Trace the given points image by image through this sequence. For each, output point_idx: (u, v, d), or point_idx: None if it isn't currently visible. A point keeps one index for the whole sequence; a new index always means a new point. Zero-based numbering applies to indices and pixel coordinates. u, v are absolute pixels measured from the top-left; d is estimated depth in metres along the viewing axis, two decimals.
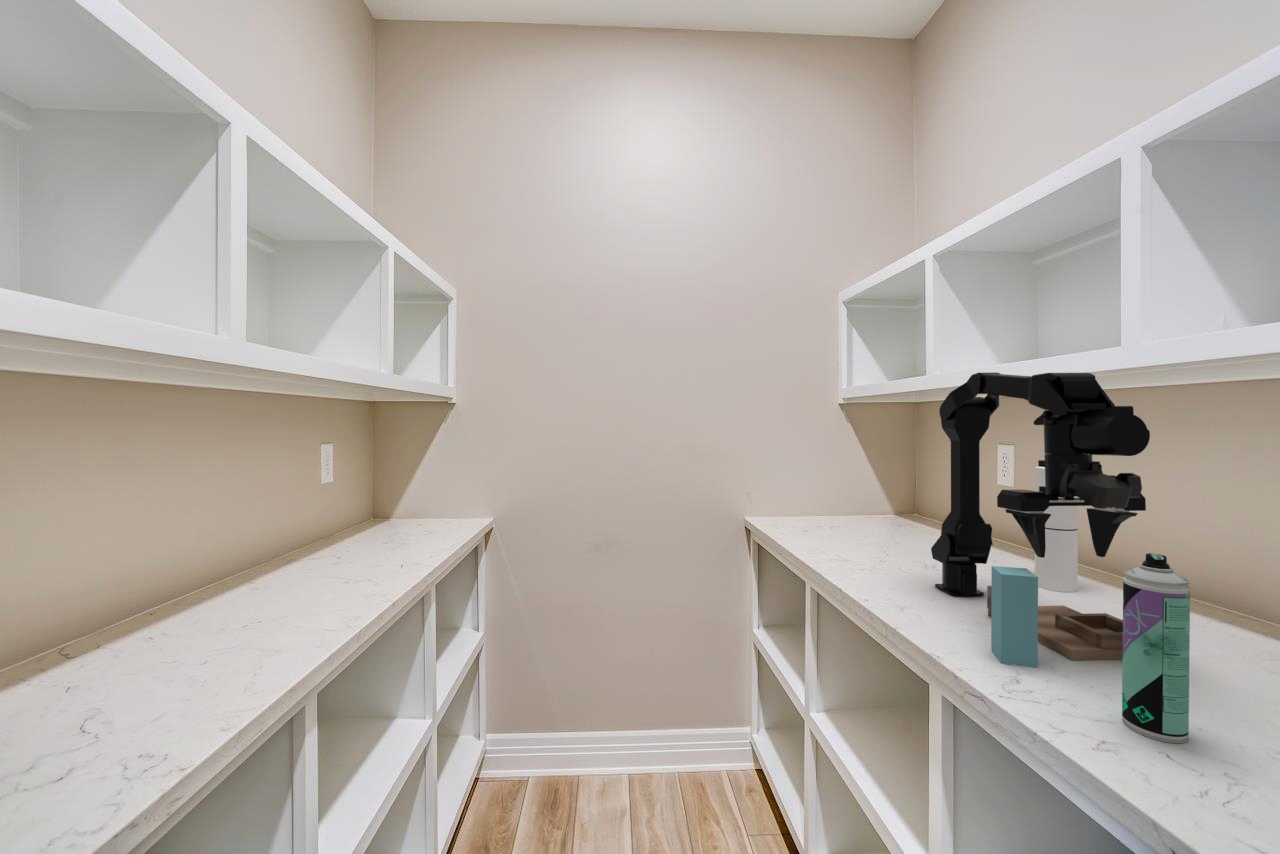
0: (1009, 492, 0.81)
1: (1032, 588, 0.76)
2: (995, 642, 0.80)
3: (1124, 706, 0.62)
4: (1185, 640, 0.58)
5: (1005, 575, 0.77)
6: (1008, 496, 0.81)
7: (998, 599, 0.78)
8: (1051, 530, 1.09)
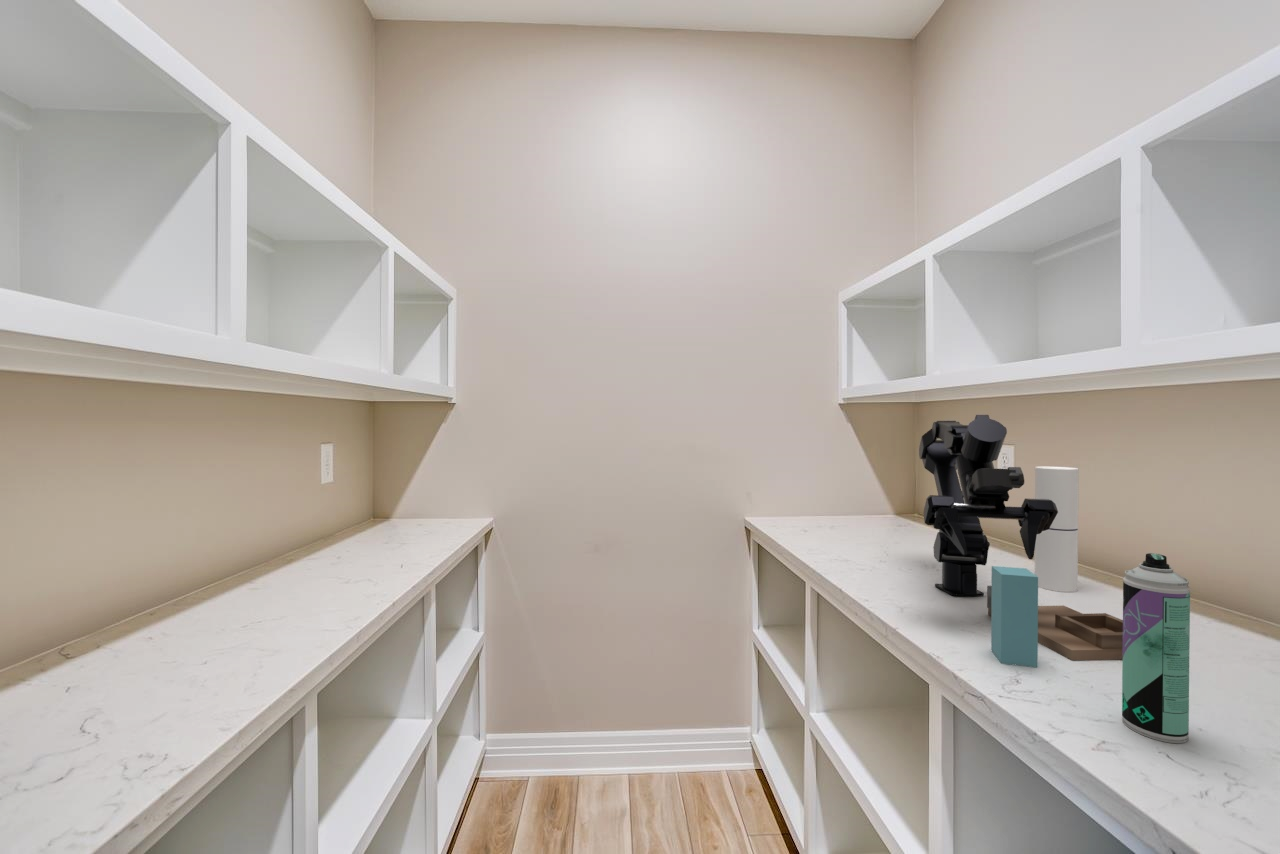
0: None
1: (1032, 588, 0.76)
2: (995, 642, 0.80)
3: (1124, 706, 0.62)
4: (1185, 640, 0.58)
5: (1005, 575, 0.77)
6: (925, 505, 0.95)
7: (998, 599, 0.78)
8: (1051, 530, 1.09)
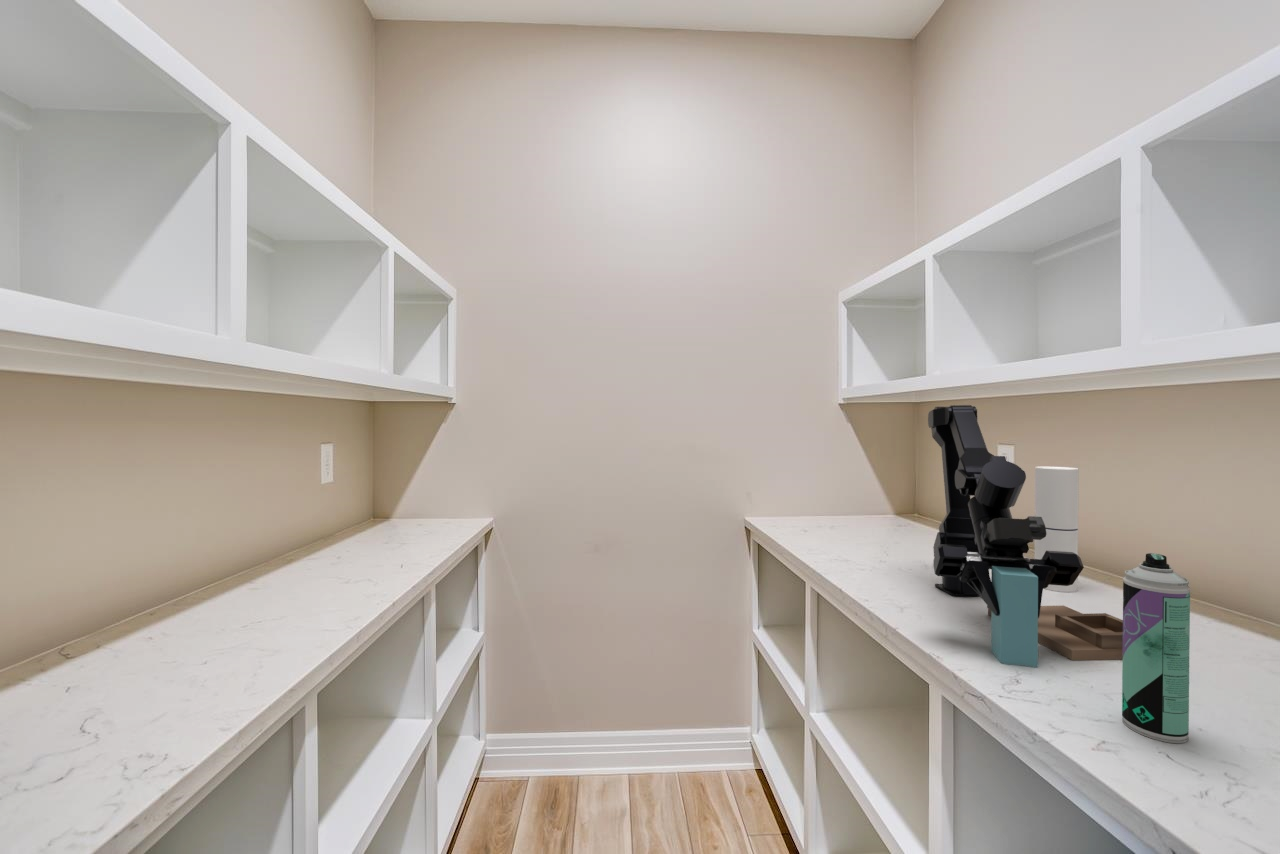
0: None
1: (1032, 588, 0.76)
2: (995, 642, 0.80)
3: (1124, 706, 0.62)
4: (1185, 640, 0.58)
5: (1005, 575, 0.77)
6: (935, 555, 0.86)
7: (998, 599, 0.78)
8: (1051, 530, 1.09)
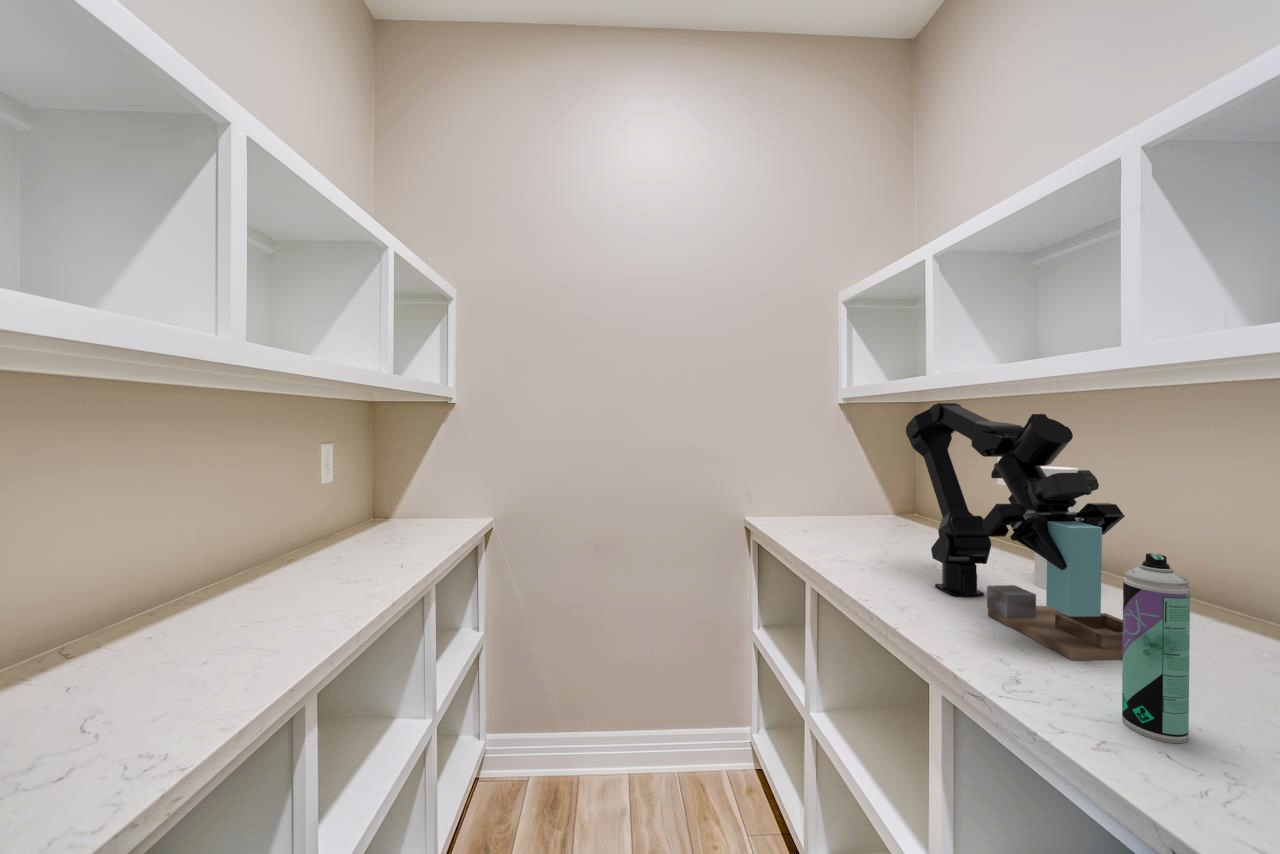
0: (988, 513, 0.85)
1: (1097, 539, 0.77)
2: (1056, 597, 0.80)
3: (1124, 706, 0.62)
4: (1185, 640, 0.58)
5: (1074, 528, 0.77)
6: (989, 515, 0.85)
7: (1064, 553, 0.78)
8: None
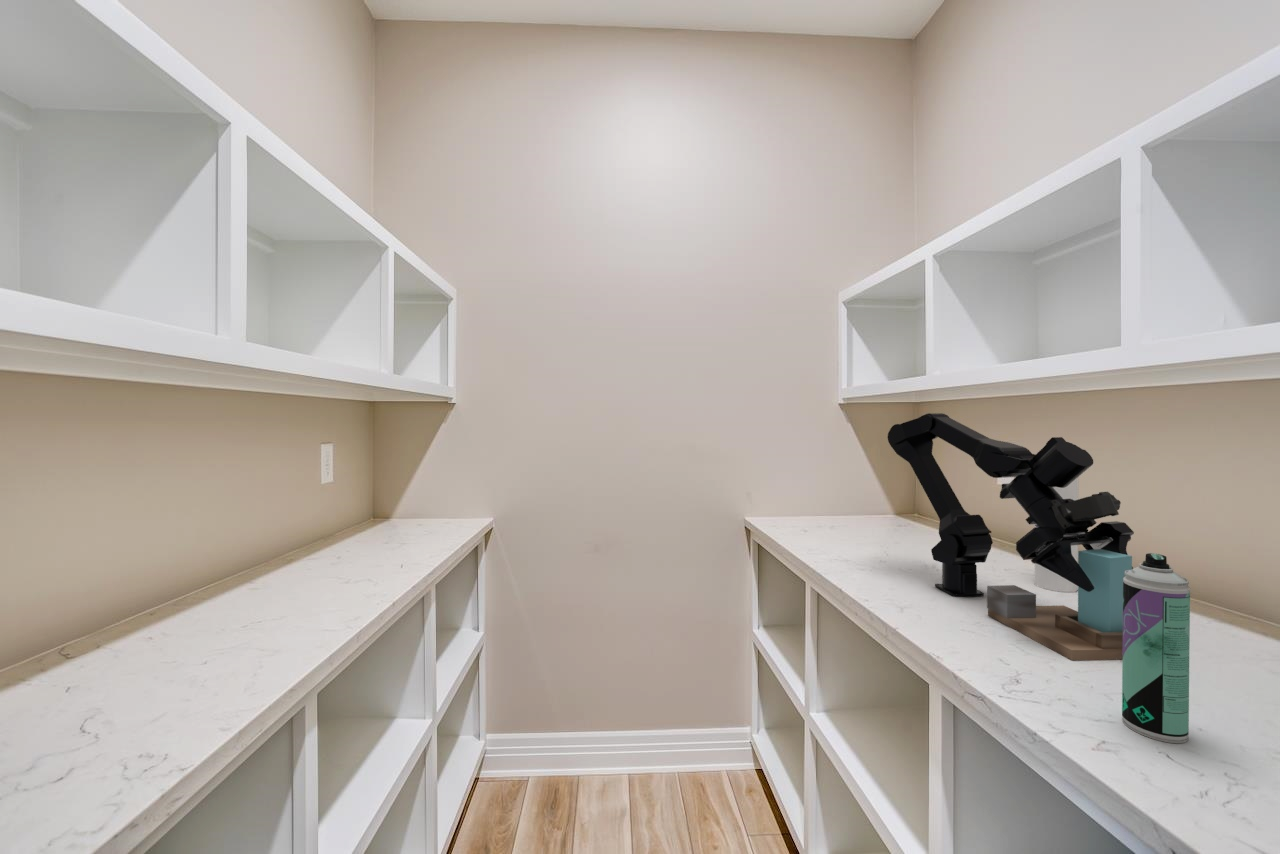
0: (1024, 537, 0.86)
1: (1128, 567, 0.81)
2: (1091, 624, 0.82)
3: (1124, 706, 0.62)
4: (1185, 640, 0.58)
5: (1112, 558, 0.80)
6: (1026, 539, 0.85)
7: (1101, 583, 0.81)
8: None
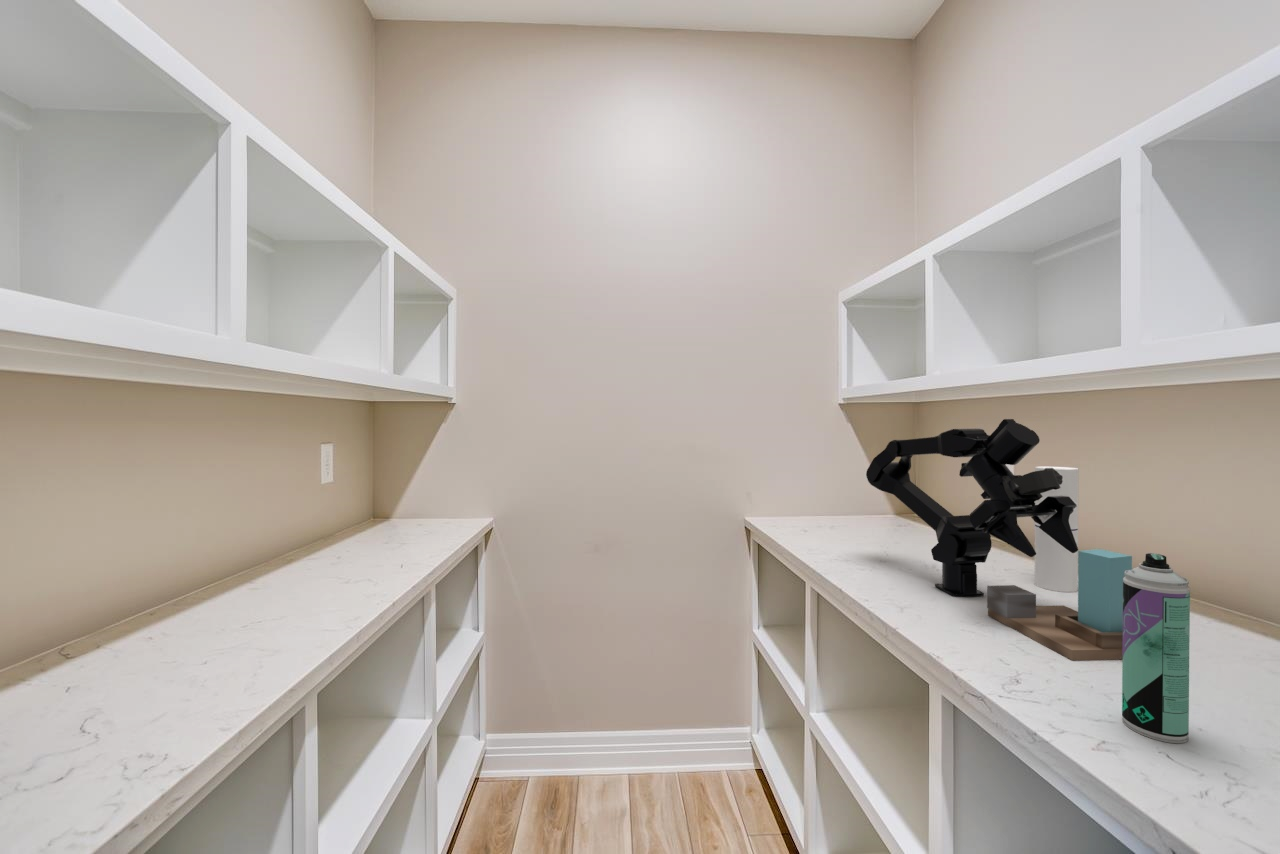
0: (976, 509, 0.94)
1: (1128, 567, 0.81)
2: (1091, 624, 0.82)
3: (1124, 706, 0.62)
4: (1185, 640, 0.58)
5: (1112, 558, 0.80)
6: (977, 510, 0.94)
7: (1101, 583, 0.81)
8: None
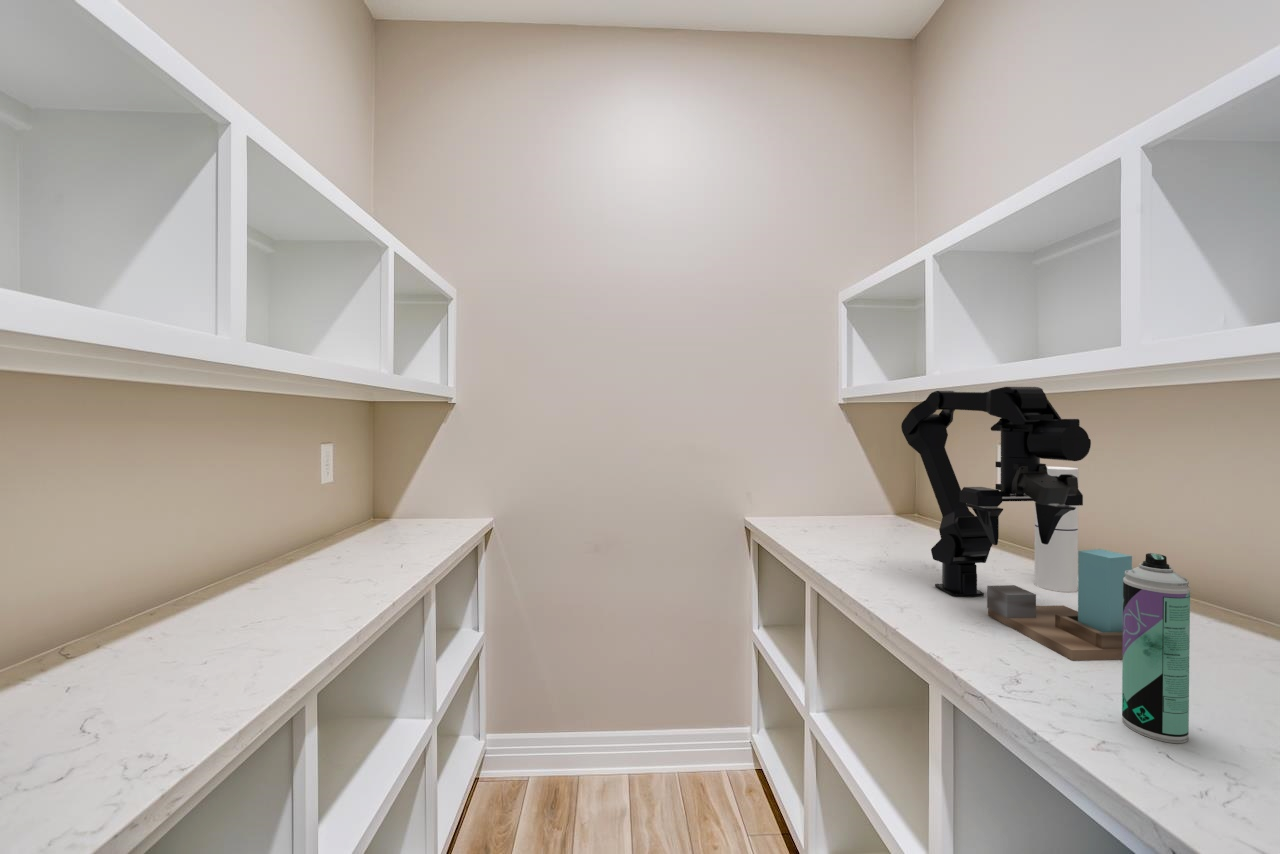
0: (969, 489, 0.95)
1: (1128, 567, 0.81)
2: (1091, 624, 0.82)
3: (1124, 706, 0.62)
4: (1185, 640, 0.58)
5: (1112, 558, 0.80)
6: (968, 493, 0.94)
7: (1101, 583, 0.81)
8: None
